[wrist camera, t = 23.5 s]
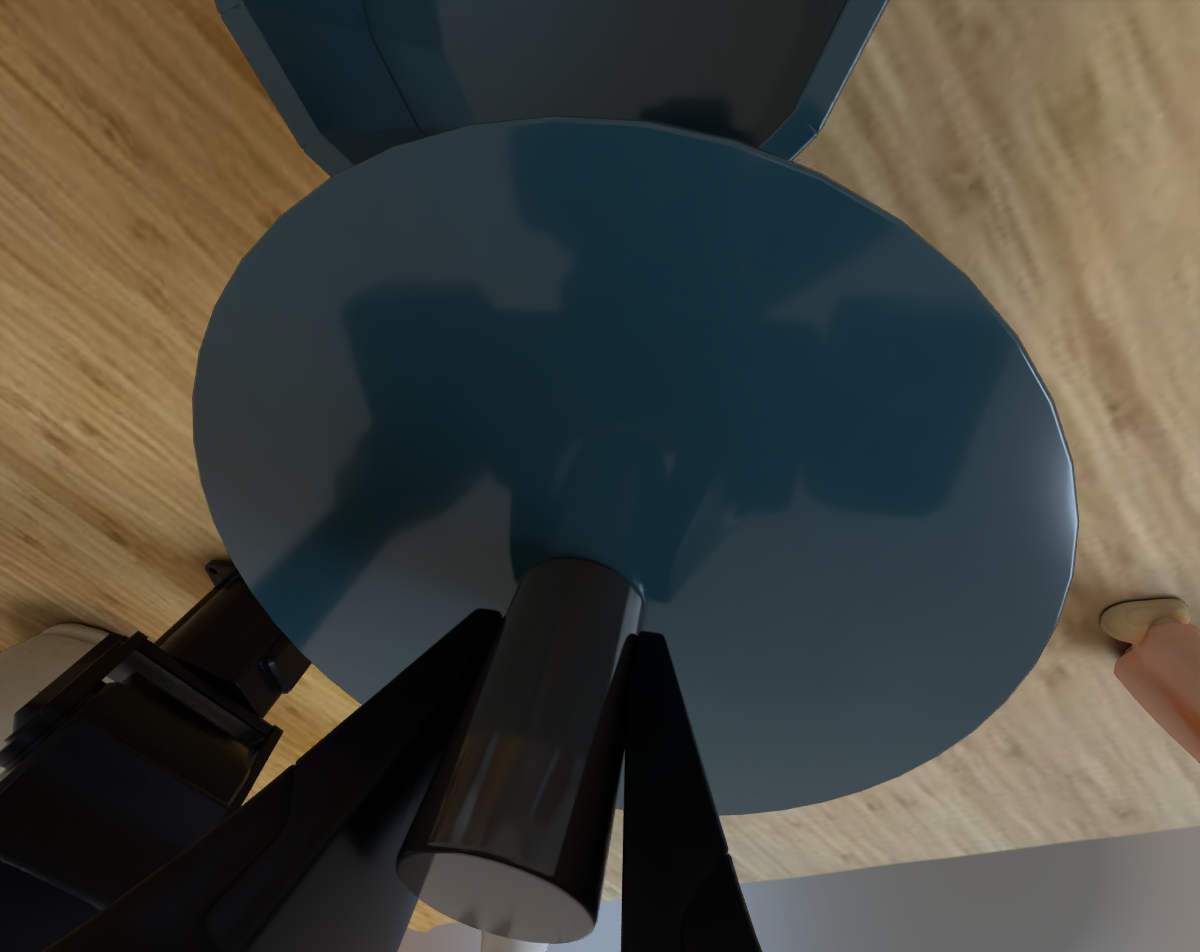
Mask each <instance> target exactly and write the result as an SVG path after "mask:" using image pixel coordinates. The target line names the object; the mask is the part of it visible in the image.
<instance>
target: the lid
mask: <svg viewBox="0 0 1200 952" xmlns="http://www.w3.org/2000/svg"><path fill="white" fill-rule="evenodd" d="M192 407H193V442H194V447H195V453H196V458H197V464H198V469H199V475H200V481H201V485H202V488H203V491H204V494H205V497H206V500H207V503H208V506H209V509H210V512H211V515H212V518H213V521H214V524H215V526H216V528H217V530H218V532H219V534H220V537H221V539H222V541H223V543H224V545H225V547H226V549H227V552H228V554H229V556H230V558H231V560H232V561H233V563H234V565H235V566H236V568H237V570H238V571H239V573H240V574H241V576H242V578H243V579H244V581H245V583H246V584H247V586H248V588H249V589H250V591H251V593H252V594H253V595H254V596H255V598H256V599H257V600H258V602H259V603H260V604H261V606H262V607H263V608H264V610H265V611H266V612H267V614H268V615H269V616H270V618H271V619H272V620H273V622H274V623H275V624H276V625H277V626H278V628H279V629H280V630H281V631H282V632H283V633H284V634H285V635H286V636H287V638H288V639H289V640H290V641H291V642H292V643H293V644H294V645H295V646H296V648H297V649H298V650H299V651H300V652H301V653H302V654H303V655H304V656H305V657H306V658H307V659H309V660H310V661H311V662H312V663H313V664H314V665H315V666H316V667H317V668H318V669H319V670H320V671H321V672H322V673H323V674H324V675H326V676H327V677H328V678H329V679H330V680H331V681H333V682H334V683H335V684H336V685H338V686H339V687H340V688H341V689H342V690H344V691H345V692H346V693H347V694H349V695H350V696H351V697H352V698H354V699H355V700H356V701H357V702H359V703H360V704H362V705H363V704H364V703H365V702H367V701H368V700H369V699H370V698H371V697H372V696H374V695H375V694H376V693H377V692H378V691H380V690H381V689H382V688H383V687H384V686H385V685H387V684H388V683H389V682H390V681H391V680H393V679H394V678H395V677H396V676H397V675H398V674H400V673H401V672H402V671H403V670H404V669H406V668H407V667H408V666H409V665H410V664H411V663H413V662H414V661H415V660H416V659H417V658H419V657H420V656H421V655H422V654H423V653H424V652H426V651H427V650H428V649H429V648H430V647H432V646H433V645H434V644H435V643H436V642H437V641H439V640H440V639H441V638H442V637H443V636H445V635H446V634H447V633H448V632H449V631H450V630H452V629H453V628H454V627H455V626H456V625H458V624H459V623H460V622H461V621H462V620H463V619H465V618H466V617H467V616H468V615H469V614H471V613H472V612H473V611H474V610H476V609H479V608H484V609H492V610H497V611H499V612H500V613H501V614H502V618H503V619H502V621H501V623H500V625H499V628H498V630H497V632H496V634H495V637H494V639H493V641H492V643H491V646H490V648H489V650H488V652H487V655H486V657H485V659H484V661H483V664H482V666H481V668H480V670H479V673H478V675H477V677H476V679H475V682H474V684H473V686H472V688H471V691H470V693H469V695H468V697H467V700H466V702H465V704H464V706H463V709H462V711H461V713H460V715H459V718H458V720H457V722H456V724H455V727H454V729H453V731H452V733H451V736H450V738H449V740H448V742H447V744H446V747H445V749H444V751H443V753H442V756H441V758H440V760H439V762H438V765H437V767H436V769H435V771H434V774H433V776H432V778H431V780H430V783H429V785H428V787H427V789H426V792H425V794H424V796H423V798H422V801H421V803H420V805H419V807H418V810H417V812H416V814H415V816H414V819H413V821H412V823H411V825H410V828H409V830H408V832H407V834H406V837H405V839H404V841H403V843H402V846H401V848H400V850H399V852H398V855H397V858H396V866H395V867H396V873H397V875H398V877H399V879H400V880H401V882H402V883H403V884H404V885H405V886H406V888H407V889H408V890H410V891H411V892H412V893H413V894H414V895H415V896H416V897H417V898H419V899H420V900H421V901H423V902H424V903H426V904H427V905H429V906H430V907H432V908H433V909H435V910H437V911H439V912H440V913H442V914H444V915H446V916H448V917H450V918H452V919H454V920H456V921H459V922H461V923H463V924H466V925H468V926H471V927H473V928H476V929H479V930H482V931H485V932H488V933H491V934H495V935H498V936H502V937H506V938H510V939H515V940H520V941H526V942H533V943H545V944H558V943H569V942H574V941H578V940H581V939H584V938H586V937H588V936H589V935H590V934H591V933H592V932H593V930H594V928H595V926H596V924H597V922H598V916H599V909H600V903H601V897H602V890H603V884H604V878H605V872H606V865H607V859H608V853H609V846H610V840H611V834H612V828H613V821H614V815H615V809H621V810H624V767H625V714H626V698H627V691H628V685H629V680H630V675H631V670H632V665H633V660H634V654H635V649H636V644H637V639H638V635H639V633H640V632H641V631H649V632H656V633H661V634H663V635H664V637H665V639H666V642H667V646H668V649H669V652H670V656H671V659H672V662H673V666H674V669H675V672H676V676H677V679H678V682H679V686H680V689H681V692H682V696H683V699H684V702H685V706H686V709H687V712H688V716H689V719H690V722H691V726H692V729H693V732H694V736H695V739H696V742H697V746H698V749H699V752H700V756H701V759H702V762H703V766H704V769H705V772H706V776H707V779H708V782H709V786H710V789H711V792H712V796H713V799H714V802H715V806H716V809H717V812H718V815H744V814H753V813H762V812H771V811H780V810H786V809H791V808H796V807H802V806H807V805H812V804H817V803H822V802H826V801H829V800H833V799H836V798H840V797H843V796H847V795H850V794H853V793H857V792H860V791H863V790H866V789H868V788H871V787H873V786H876V785H878V784H881V783H883V782H886V781H889V780H891V779H894V778H896V777H899V776H901V775H903V774H905V773H907V772H909V771H910V770H912V769H914V768H916V767H918V766H920V765H922V764H924V763H926V762H928V761H929V760H931V759H933V758H935V757H937V756H939V755H940V754H942V753H943V752H944V751H946V750H947V749H949V748H950V747H952V746H953V745H955V744H956V743H957V742H959V741H960V740H962V739H963V738H965V737H966V736H968V735H969V734H971V733H972V732H973V731H974V730H976V729H977V728H978V727H979V726H980V725H981V724H982V723H983V722H984V721H985V720H986V719H988V718H989V717H990V716H991V715H992V714H993V713H994V712H995V711H996V710H997V709H999V708H1000V707H1001V706H1002V705H1003V704H1004V703H1005V702H1006V701H1007V700H1008V699H1009V697H1010V696H1011V695H1012V694H1013V692H1014V691H1015V690H1016V689H1017V687H1018V686H1019V685H1020V684H1021V682H1022V681H1023V680H1024V679H1025V677H1026V676H1027V675H1028V674H1029V672H1030V671H1031V670H1032V669H1033V667H1034V666H1035V664H1036V663H1037V661H1038V659H1039V657H1040V655H1041V654H1042V652H1043V650H1044V648H1045V646H1046V644H1047V643H1048V641H1049V639H1050V637H1051V635H1052V634H1053V632H1054V630H1055V628H1056V626H1057V624H1058V622H1059V619H1060V616H1061V612H1062V609H1063V606H1064V603H1065V600H1066V597H1067V594H1068V591H1069V588H1070V585H1071V581H1072V578H1073V574H1074V565H1075V556H1076V547H1077V537H1078V528H1079V514H1078V504H1077V495H1076V485H1075V475H1074V465H1073V459H1072V456H1071V453H1070V450H1069V447H1068V444H1067V440H1066V437H1065V434H1064V431H1063V428H1062V425H1061V422H1060V418H1059V415H1058V412H1057V409H1056V406H1055V403H1054V400H1053V398H1052V396H1051V394H1050V392H1049V391H1048V389H1047V387H1046V385H1045V383H1044V382H1043V380H1042V378H1041V376H1040V374H1039V373H1038V371H1037V369H1036V367H1035V365H1034V364H1033V362H1032V360H1031V358H1030V356H1029V355H1028V353H1027V351H1026V349H1025V347H1024V346H1023V344H1022V342H1021V340H1020V338H1019V337H1018V335H1017V334H1016V333H1015V332H1014V331H1013V329H1012V328H1011V327H1010V326H1009V325H1008V323H1007V322H1006V321H1005V320H1004V319H1003V317H1002V316H1001V315H1000V314H999V313H998V311H997V310H996V309H995V308H994V307H993V305H992V304H991V303H990V302H989V301H988V299H987V298H986V297H985V296H984V295H983V294H982V292H981V291H980V290H979V289H978V288H977V286H976V285H975V284H974V283H973V282H972V280H971V279H970V278H969V277H968V276H967V275H966V274H965V273H964V272H963V271H962V270H960V269H959V268H958V267H957V266H956V265H954V264H953V263H952V262H951V261H950V260H948V259H947V258H946V257H945V256H944V255H942V254H941V253H940V252H939V251H938V250H936V249H935V248H934V247H933V246H932V245H930V244H929V243H928V242H927V241H926V240H925V239H923V238H922V237H921V236H920V235H919V234H917V233H916V232H915V231H914V230H913V229H911V228H910V227H909V226H908V225H907V224H905V223H904V222H903V221H902V220H900V219H899V218H897V217H895V216H894V215H892V214H890V213H888V212H887V211H885V210H883V209H882V208H880V207H878V206H877V205H875V204H873V203H871V202H870V201H868V200H866V199H865V198H863V197H861V196H859V195H858V194H856V193H854V192H853V191H851V190H849V189H848V188H846V187H844V186H842V185H841V184H839V183H837V182H836V181H834V180H832V179H831V178H829V177H827V176H825V175H824V174H822V173H820V172H819V171H816V170H814V169H811V168H809V167H806V166H804V165H801V164H798V163H796V162H793V161H791V160H788V159H786V158H783V157H780V156H778V155H775V154H773V153H770V152H768V151H765V150H762V149H760V148H757V147H755V146H752V145H750V144H747V143H744V142H742V141H739V140H737V139H734V138H729V137H724V136H720V135H715V134H711V133H706V132H701V131H697V130H692V129H687V128H683V127H678V126H674V125H669V124H664V123H660V122H655V121H650V120H640V119H621V118H603V117H584V116H566V115H550V116H541V117H532V118H523V119H514V120H505V121H496V122H486V123H477V124H468V125H465V126H462V127H458V128H455V129H451V130H448V131H444V132H441V133H437V134H434V135H430V136H427V137H423V138H420V139H416V140H413V141H409V142H406V143H403V144H399V145H396V146H393V147H391V148H389V149H387V150H385V151H383V152H381V153H379V154H377V155H375V156H373V157H371V158H369V159H367V160H365V161H363V162H361V163H359V164H357V165H355V166H352V167H350V168H348V169H346V170H344V171H342V172H340V173H338V174H336V175H334V176H332V177H330V178H329V179H328V180H326V181H325V182H324V183H323V184H321V185H320V186H319V187H317V188H316V189H315V190H313V191H312V192H311V193H309V194H308V195H307V196H305V197H304V198H303V199H302V200H300V201H299V202H298V203H296V204H295V205H294V206H292V207H291V208H290V209H288V210H287V211H286V212H284V213H283V214H282V215H281V216H279V218H278V219H277V220H276V221H275V222H274V223H273V224H272V225H271V227H270V228H269V229H268V230H267V231H266V232H265V233H264V235H263V236H262V237H261V238H260V239H259V240H258V241H257V243H256V244H255V245H254V246H253V247H252V248H251V249H250V250H249V252H248V253H247V254H246V255H245V256H244V257H243V258H242V260H241V261H240V263H239V265H238V266H237V268H236V270H235V272H234V273H233V275H232V277H231V279H230V280H229V282H228V284H227V285H226V287H225V289H224V291H223V292H222V294H221V296H220V298H219V299H218V301H217V303H216V305H215V306H214V309H213V312H212V315H211V318H210V321H209V324H208V327H207V330H206V333H205V336H204V339H203V341H202V344H201V347H200V350H199V354H198V361H197V368H196V375H195V382H194V389H193V396H192Z"/></svg>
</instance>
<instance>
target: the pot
mask: <svg viewBox="0 0 1200 952" xmlns="http://www.w3.org/2000/svg"><path fill="white" fill-rule="evenodd" d="M214 1H215V4H216V7H217V10H218V12H219V13H220V14H221V17H222V20H223V21H224V23H225V24H226V26H227V28H228V29H229V31H230V33H231V34H232V36H233V38H234V39H235V41H236V43H237V44H238V46H239V47H240V49H241V51H242V52H243V54H244V56H245V57H246V59H247V61H248V62H249V64H250V65H251V67H252V69H253V70H254V72H255V74H256V75H257V77H258V79H259V80H260V82H261V84H262V85H263V87H264V88H265V90H266V92H267V93H268V95H269V97H270V98H271V100H272V102H273V103H274V105H275V107H276V108H277V110H278V111H279V113H280V115H281V116H282V118H283V120H284V121H285V123H286V125H287V126H288V128H289V130H290V131H291V133H292V134H293V136H294V138H295V139H296V141H297V143H298V144H299V146H300V147H301V148H302V149H304V152H305V153H306V154H307V155H308V156H309V157H310V158H311V159H312V160H313V161H314V162H315V163H316V164H317V165H319V166H320V167H321V168H322V169H323V170H324V171H325V172H326V173H327V174H328V175H329V176H330V177H332V176H334V175H336V174H338V173H340V172H342V171H344V170H346V169H348V168H350V167H352V166H355V165H357V164H359V163H361V162H363V161H365V160H367V159H369V158H371V157H373V156H375V155H377V154H379V153H381V152H383V151H385V150H387V149H389V148H391V147H393V146H396V145H399V144H403V143H406V142H409V141H413V140H416V139H420V138H423V137H427V136H430V135H434V134H437V133H441V132H444V131H448V130H451V129H455V128H458V127H462V126H465V125H468V124H477V123H486V122H496V121H505V120H514V119H523V118H532V117H541V116H550V115H566V116H584V117H603V118H621V119H640V120H650V121H655V122H660V123H664V124H669V125H674V126H678V127H683V128H687V129H692V130H697V131H701V132H706V133H711V134H715V135H720V136H724V137H729V138H734V139H737V140H739V141H742V142H744V143H747V144H750V145H752V146H755V147H757V148H760V149H762V150H765V151H768V152H770V153H773V154H775V155H778V156H780V157H783V158H786V159H788V160H791V161H792V160H793V159H794V158H795V157H796V156H797V155H798V154H800V153H801V152H802V151H803V150H804V149H805V148H806V147H807V146H808V145H809V144H810V143H811V142H812V141H813V140H814V139H815V138H816V137H817V135H818V132H819V131H820V130H821V129H822V128H823V126H824V124H825V122H826V120H827V119H828V117H829V115H830V113H831V111H832V109H833V107H834V105H835V103H836V101H837V100H838V98H839V96H840V94H841V92H842V90H843V88H844V86H845V84H846V82H847V80H848V79H849V77H850V75H851V73H852V71H853V69H854V67H855V65H856V63H857V61H858V59H859V58H860V56H861V54H862V52H863V50H864V48H865V46H866V44H867V42H868V40H869V38H870V37H871V35H872V33H873V31H874V29H875V27H876V25H877V23H878V21H879V19H880V17H881V16H882V14H883V12H884V10H885V8H886V6H887V4H888V2H889V0H214Z"/></svg>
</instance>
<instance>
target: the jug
mask: <svg viewBox="0 0 1200 952" xmlns="http://www.w3.org/2000/svg"><path fill="white" fill-rule="evenodd" d="M109 634H110V633H108V632H105V631H103V630H100V629H96V628H92V627H88V626H86V625H82V624H76V623H63V624H58V625H55V626H52V627H50V628H48V629H46V630H44V631H43V632H42V633H41V634H40V635H37V636H35V637H32V638H30V639H27V640H25V641H23V642H21V643H19V644H17V645H14V646H12V647H10V648H8V649H6V650H4V651H2V652H0V750H1V749H2V748H3V747H4V746H5V745H7V744H8V743H6V742H5V741H4V740H5V739H6V738H7V737H8V736H9V735H10V734H12V730H13V719H14V713H15V712H17V711H18V710H19V709H20V708H21V707H23V706H24V705H25V704H26V703H27V702H29V701H30V700H31V699H32V698H33V697H35V696H36V695H37V694H38V693H39V692H41V691H42V690H43V689H44V688H45V687H47V686H48V685H49V684H50V683H51V682H53V681H54V680H55V679H56V678H57V677H58V676H60V675H61V674H62V673H63V672H64V671H66V670H67V669H68V668H69V667H70V666H72V665H73V664H74V663H75V662H76V661H78V660H79V659H80V658H81V657H82V656H84V655H85V654H86V653H87V652H88V651H90V650H91V649H92V648H93V647H94V646H96V645H97V644H98V643H99V642H100V641H101V640H103V639H104V638H105V637H106V636H107V635H109ZM102 681H104V682H105V683H111V682H114V681H113V680H111V679H110V678H108V677H107V676H106V677H105V678H104V679H103V680H102ZM5 769H6V768H4V767H3V768H2V767H0V774H1V773H2V772H3V771H4V770H5Z"/></svg>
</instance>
